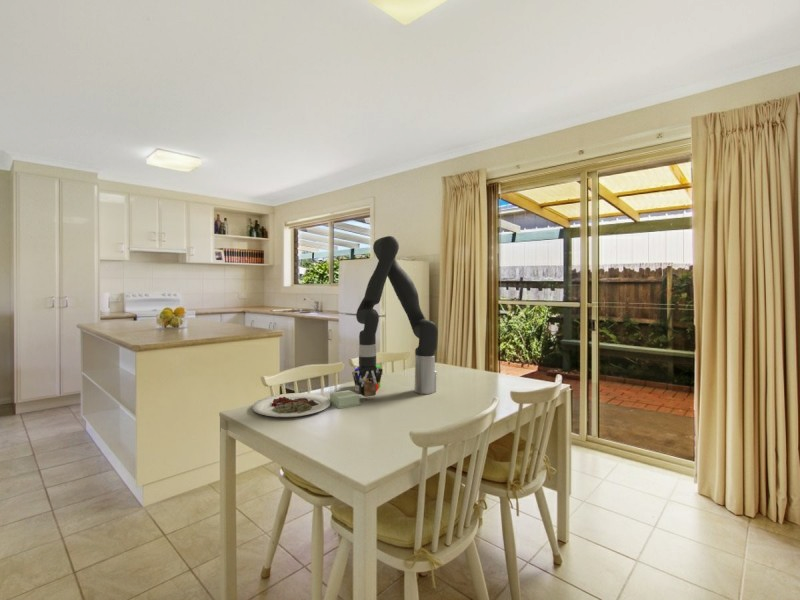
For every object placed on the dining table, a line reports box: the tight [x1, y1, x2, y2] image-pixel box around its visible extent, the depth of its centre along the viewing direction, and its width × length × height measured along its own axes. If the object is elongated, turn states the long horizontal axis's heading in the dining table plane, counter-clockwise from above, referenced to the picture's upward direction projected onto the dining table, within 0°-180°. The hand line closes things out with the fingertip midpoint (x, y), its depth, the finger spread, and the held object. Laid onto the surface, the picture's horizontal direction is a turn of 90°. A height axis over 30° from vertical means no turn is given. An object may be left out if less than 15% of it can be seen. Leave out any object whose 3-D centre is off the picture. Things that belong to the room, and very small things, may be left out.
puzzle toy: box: [354, 365, 382, 392], centre depth 193 cm, size 10×10×10 cm
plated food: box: [252, 392, 331, 418], centre depth 163 cm, size 30×30×3 cm
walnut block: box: [359, 381, 377, 398], centre depth 176 cm, size 5×5×5 cm
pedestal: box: [329, 389, 362, 410], centre depth 169 cm, size 10×10×4 cm
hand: (367, 393), depth 176 cm, fingers closed on walnut block, 5 cm apart
